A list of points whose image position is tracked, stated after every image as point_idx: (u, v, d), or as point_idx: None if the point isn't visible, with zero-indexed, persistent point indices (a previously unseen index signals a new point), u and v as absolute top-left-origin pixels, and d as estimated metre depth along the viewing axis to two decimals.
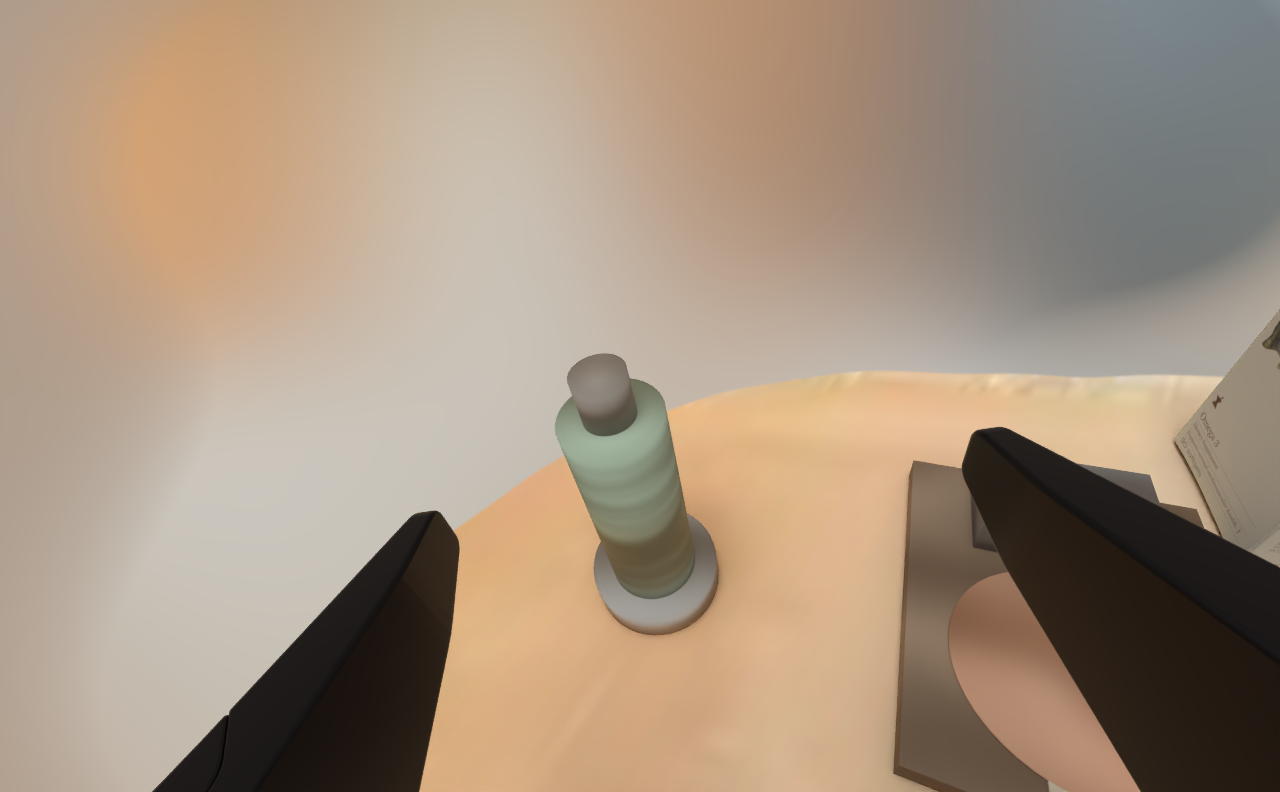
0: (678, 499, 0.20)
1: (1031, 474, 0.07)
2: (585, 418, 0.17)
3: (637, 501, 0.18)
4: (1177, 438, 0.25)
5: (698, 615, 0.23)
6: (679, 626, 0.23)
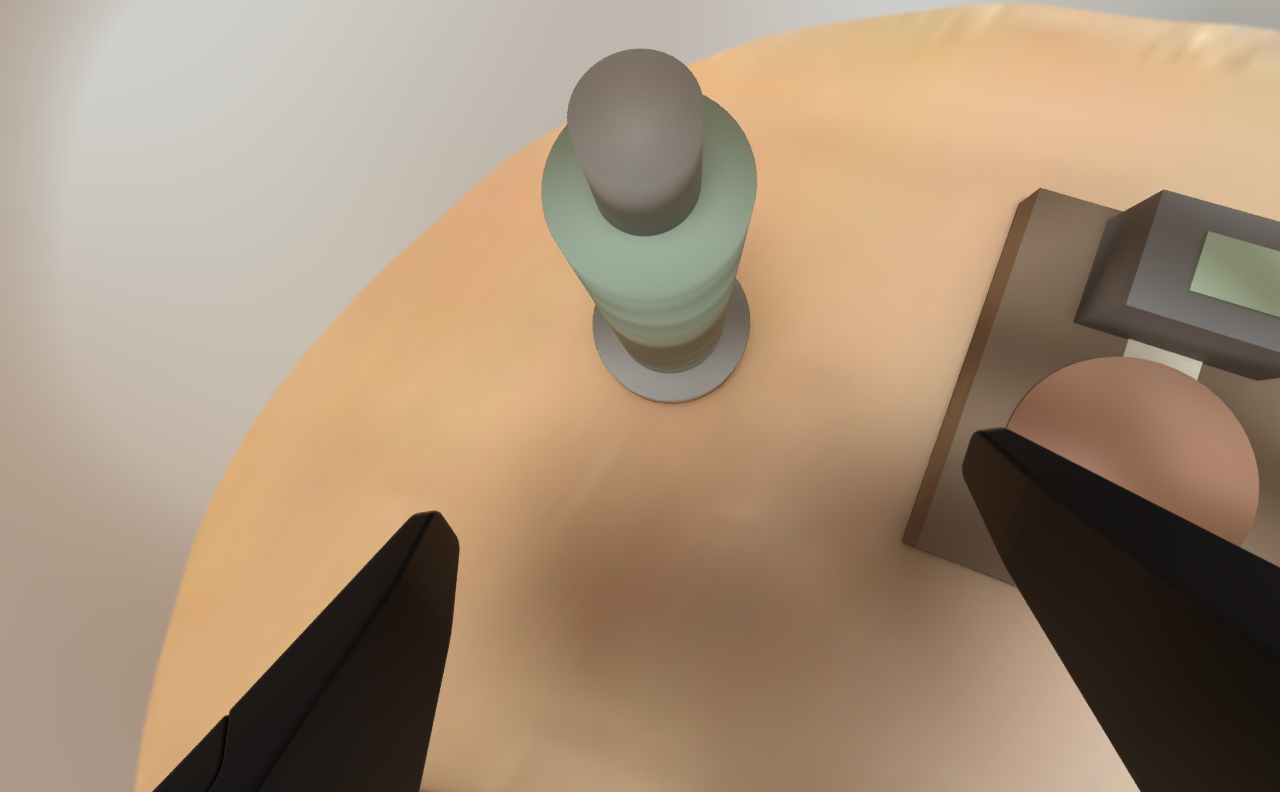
0: (731, 290, 0.13)
1: (1031, 474, 0.07)
2: (606, 207, 0.09)
3: (682, 320, 0.12)
4: None
5: None
6: (697, 397, 0.20)
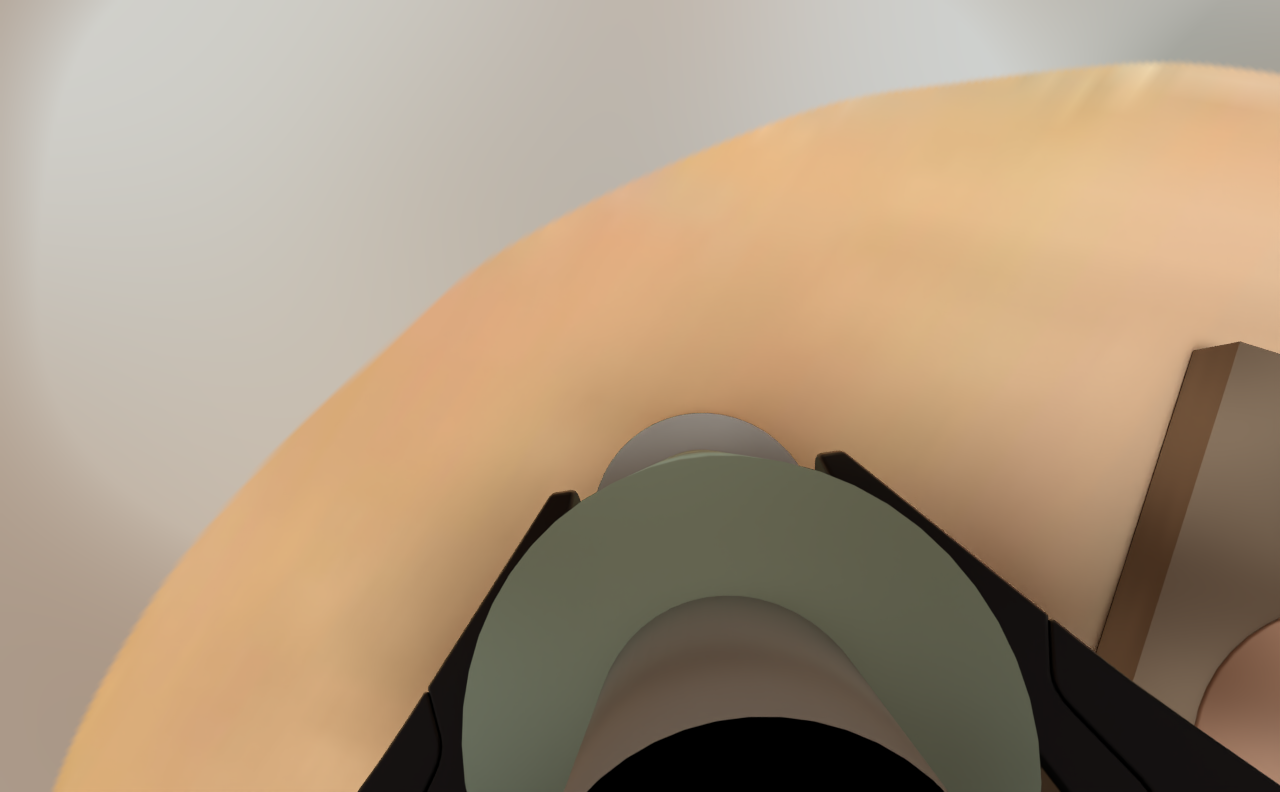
0: None
1: None
2: None
3: None
4: None
5: None
6: None
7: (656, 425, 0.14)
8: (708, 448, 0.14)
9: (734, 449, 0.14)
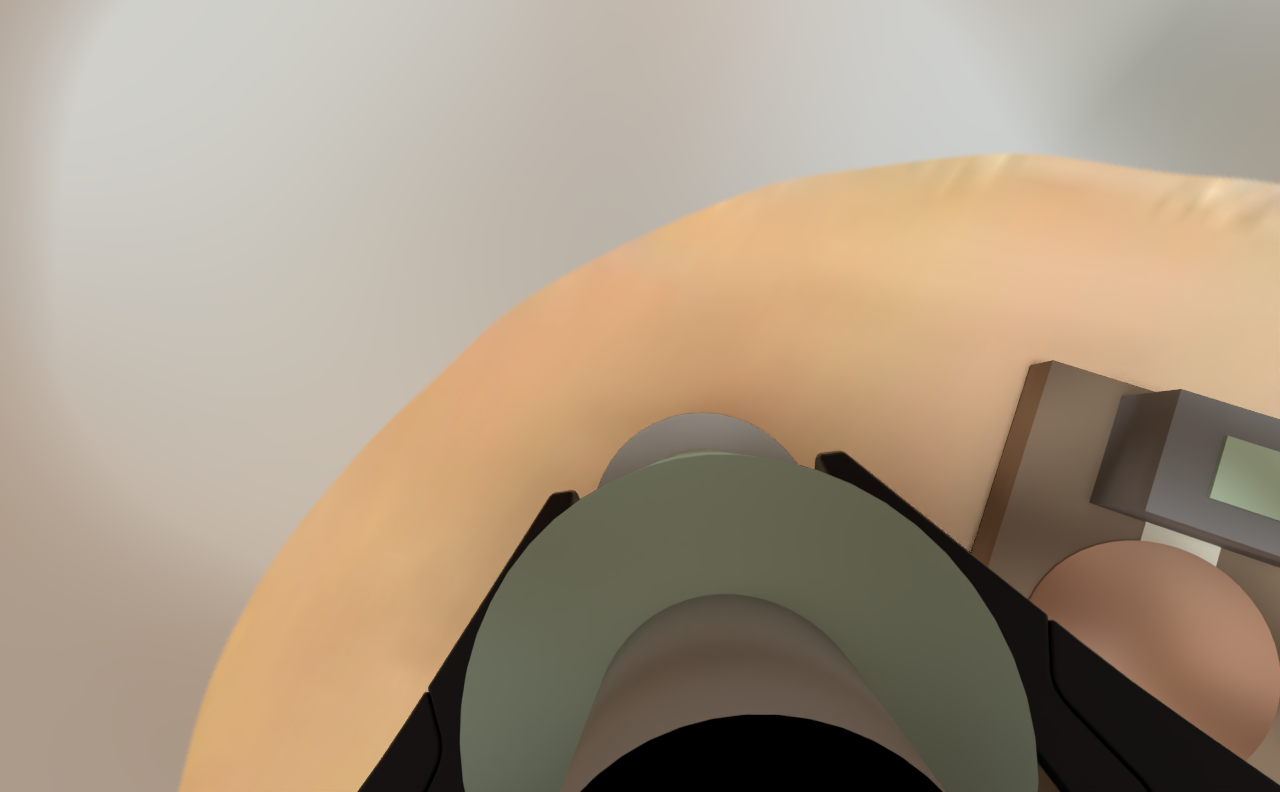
0: None
1: None
2: None
3: None
4: None
5: None
6: None
7: (655, 425, 0.14)
8: (707, 448, 0.14)
9: (733, 448, 0.14)
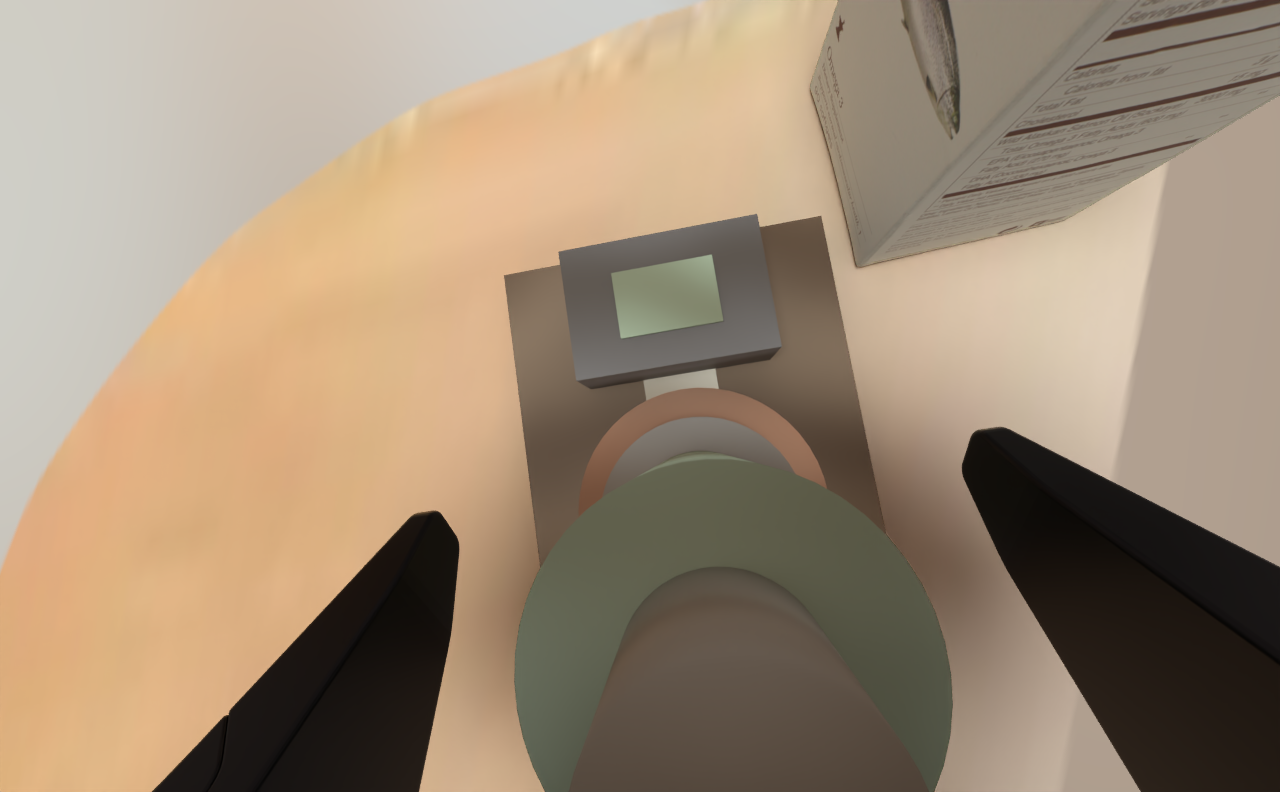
0: None
1: (1031, 474, 0.07)
2: None
3: None
4: (811, 86, 0.18)
5: None
6: None
7: (659, 428, 0.15)
8: (707, 449, 0.15)
9: (730, 450, 0.15)
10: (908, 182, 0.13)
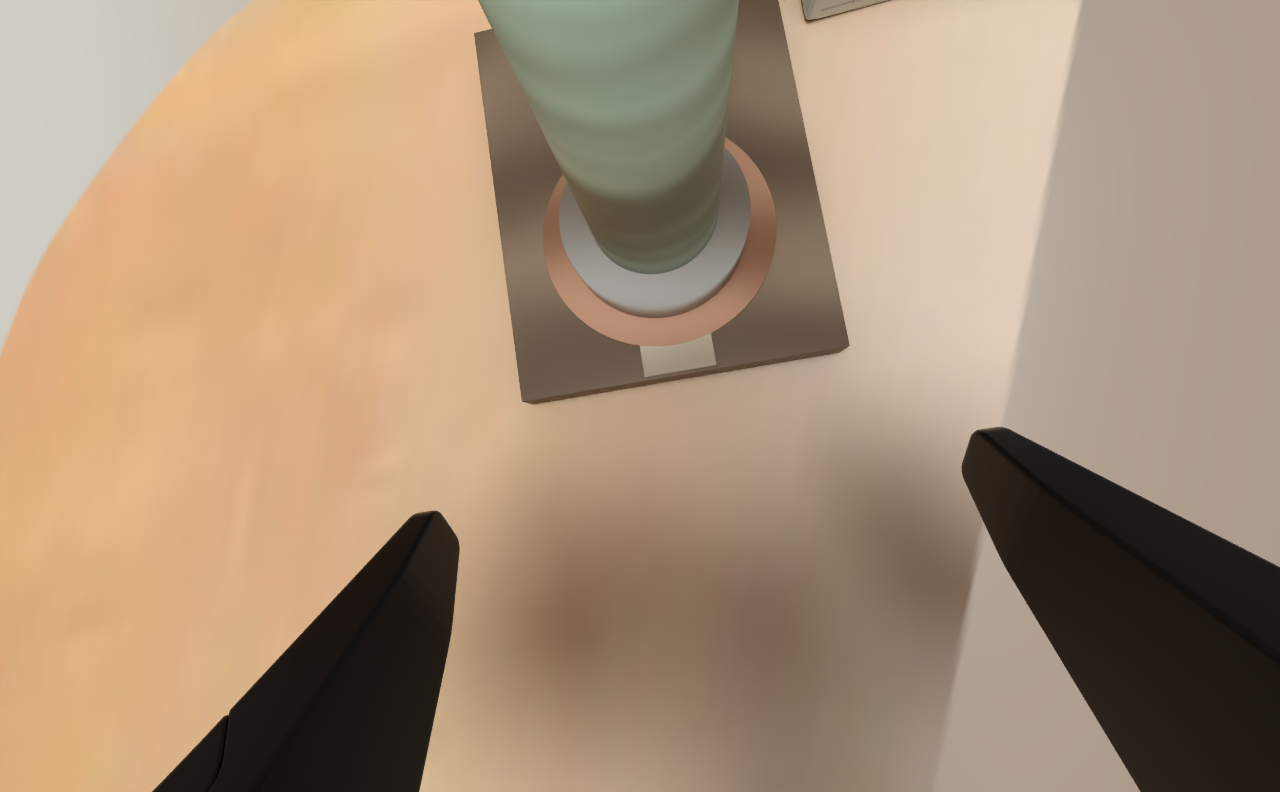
0: (725, 108, 0.10)
1: (1031, 474, 0.07)
2: None
3: (651, 112, 0.08)
4: None
5: (714, 294, 0.16)
6: (687, 308, 0.16)
7: None
8: None
9: None
10: None
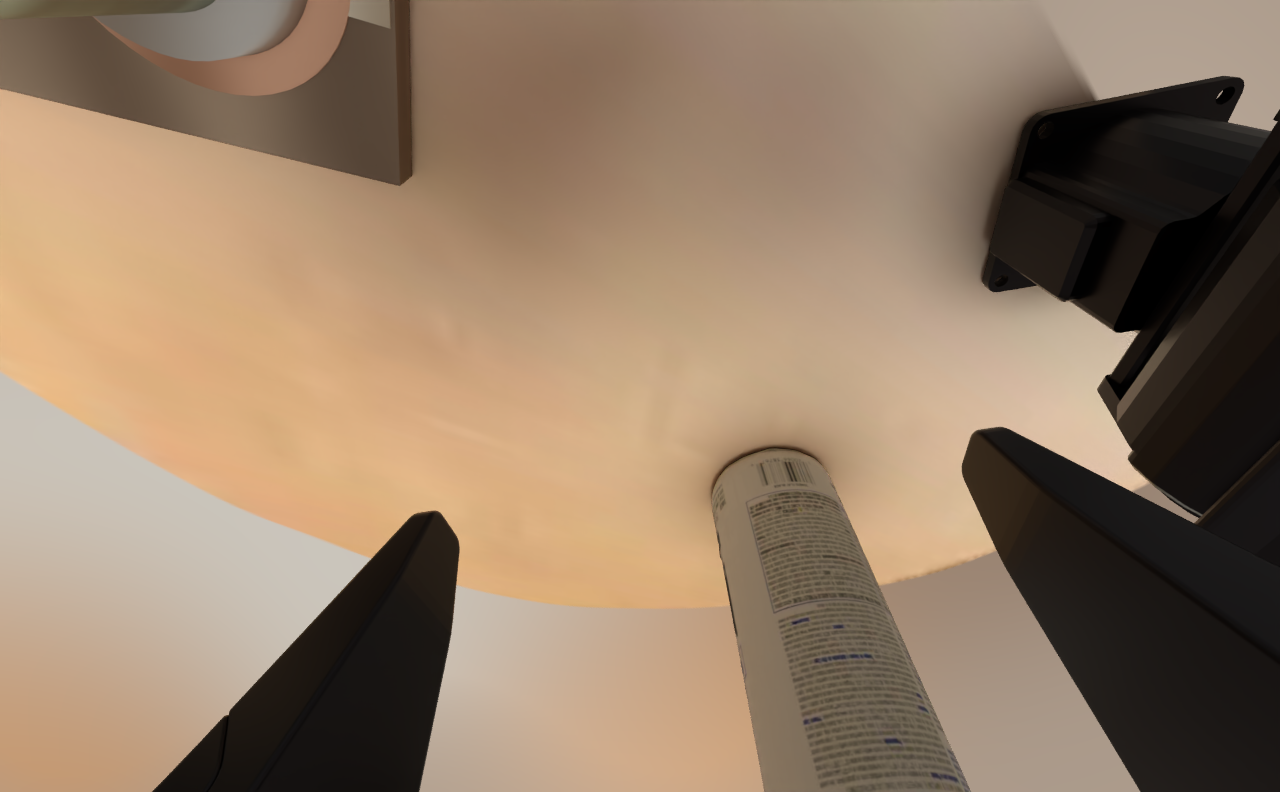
0: None
1: (1031, 474, 0.07)
2: None
3: None
4: None
5: None
6: None
7: None
8: None
9: None
10: None
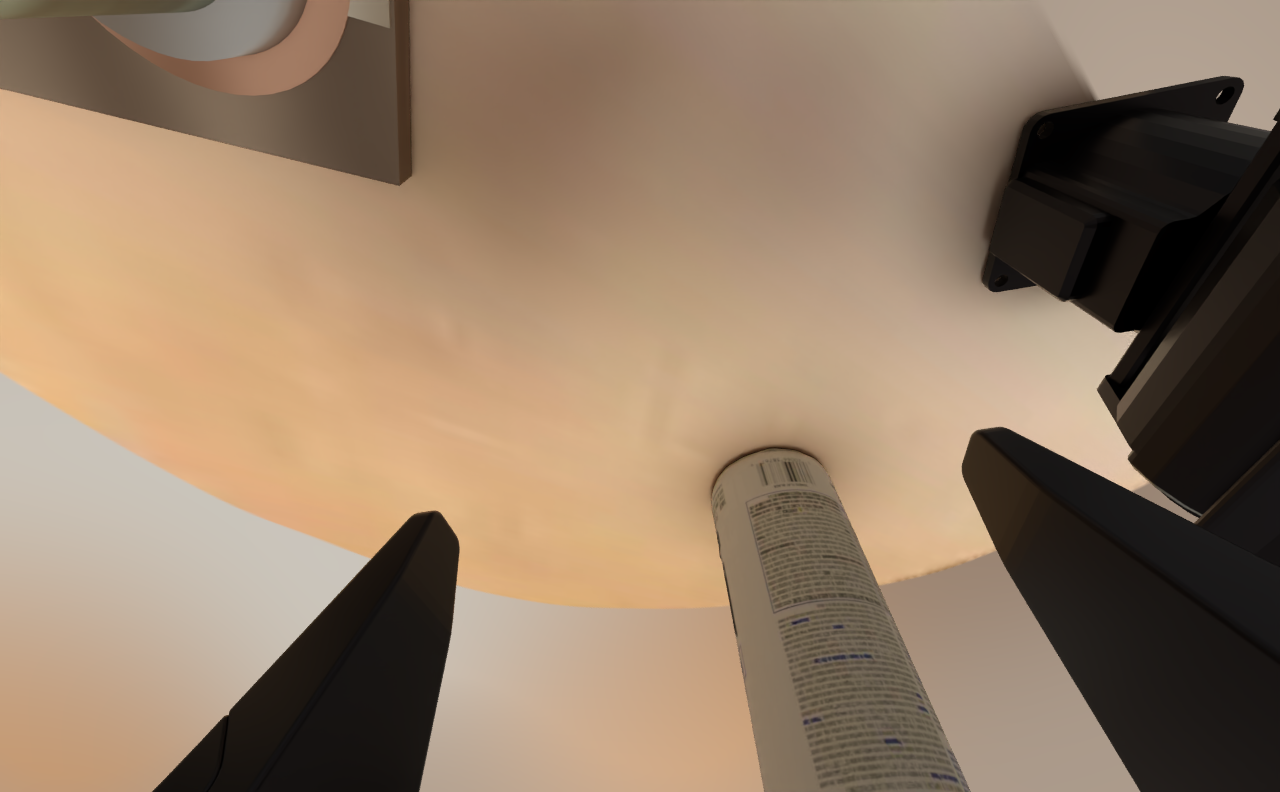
0: None
1: (1031, 474, 0.07)
2: None
3: None
4: None
5: None
6: None
7: None
8: None
9: None
10: None
